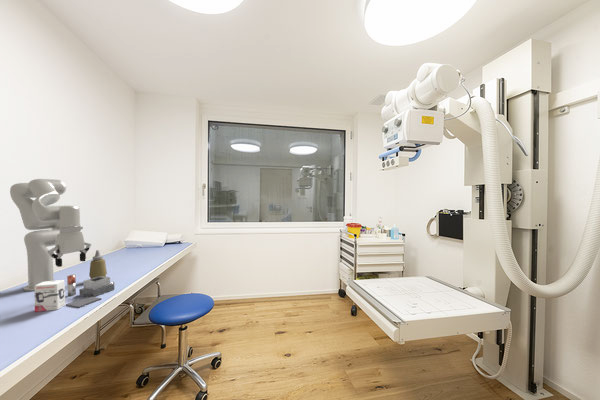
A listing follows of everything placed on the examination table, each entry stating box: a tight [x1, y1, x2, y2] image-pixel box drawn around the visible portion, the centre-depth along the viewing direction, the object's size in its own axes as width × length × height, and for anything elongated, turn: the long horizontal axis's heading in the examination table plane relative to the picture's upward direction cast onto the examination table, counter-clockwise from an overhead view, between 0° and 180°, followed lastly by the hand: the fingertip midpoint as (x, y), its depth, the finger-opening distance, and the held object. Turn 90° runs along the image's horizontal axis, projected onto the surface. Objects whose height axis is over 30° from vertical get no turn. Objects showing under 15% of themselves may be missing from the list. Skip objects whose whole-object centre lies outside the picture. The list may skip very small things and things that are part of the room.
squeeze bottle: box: [88, 250, 108, 279], centre depth 140 cm, size 8×8×18 cm
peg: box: [66, 274, 77, 297], centre depth 119 cm, size 3×3×10 cm
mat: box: [65, 296, 102, 309], centre depth 111 cm, size 9×9×1 cm
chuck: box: [79, 276, 115, 297], centre depth 124 cm, size 10×13×7 cm
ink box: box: [33, 279, 66, 313], centre depth 105 cm, size 8×5×12 cm, turn 103°
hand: (71, 263), depth 119 cm, fingers open, 9 cm apart
